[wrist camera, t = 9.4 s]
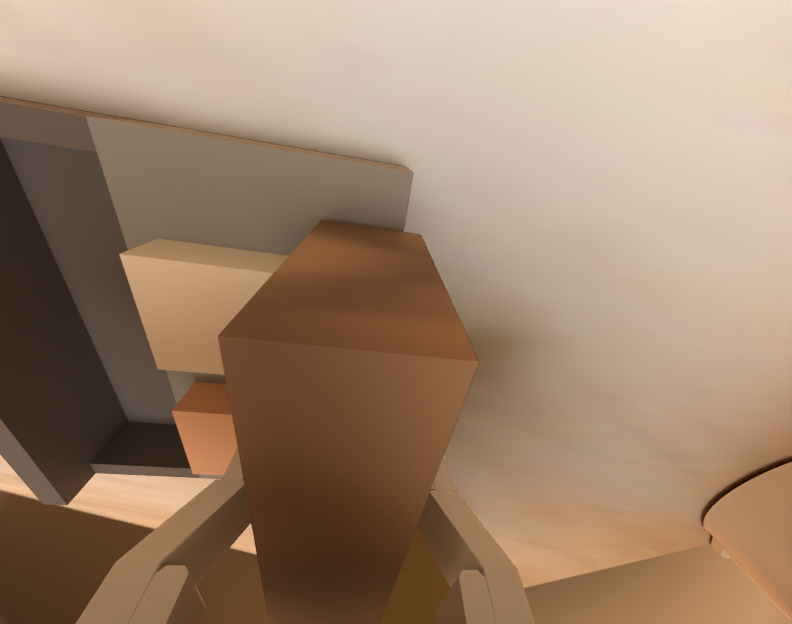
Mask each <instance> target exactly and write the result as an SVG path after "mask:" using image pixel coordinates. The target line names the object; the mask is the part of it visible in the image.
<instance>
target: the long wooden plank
mask: <svg viewBox="0 0 792 624" xmlns="http://www.w3.org/2000/svg"><path fill="white" fill-rule="evenodd" d="M218 341H219V347H220V352H221V358H222V363H223V369H224V374H225V380H226V385H227V391H228V396H229V402H230V408H231V413H232V419H233V424H234V430H235V435H236V441H237V446H238V452H239V458H240V463H241V469H242V474H243V480H244V485H245V491H246V496H247V502H248V507H249V513H250V519H251V524H252V530H253V535H254V541H255V546H256V552H257V557H258V563H259V568H260V574H261V580H262V585H263V591H264V596H265V602H266V607H267V613H268V618H269V624H380V622H381V620H382V617H383V614H384V612H385V609H386V607H387V604H388V601H389V599H390V596H391V593H392V591H393V588H394V585H395V583H396V580H397V577H398V575H399V572H400V570H401V567H402V564H403V562H404V559H405V556H406V554H407V551H408V548H409V546H410V543H411V540H412V538H413V535H414V533H415V530H416V527H417V525H418V522H419V519H420V517H421V514H422V511H423V509H424V506H425V503H426V501H427V498H428V496H429V493H430V490H431V488H432V485H433V482H434V480H435V477H436V474H437V472H438V469H439V466H440V464H441V461H442V459H443V456H444V453H445V451H446V448H447V445H448V443H449V440H450V437H451V435H452V432H453V429H454V427H455V424H456V422H457V419H458V416H459V414H460V411H461V408H462V406H463V403H464V400H465V398H466V395H467V392H468V390H469V387H470V385H471V382H472V379H473V377H474V374H475V371H476V369H477V366H478V363H479V360H478V358H477V356H476V354H475V352H474V350H473V347H472V345H471V343H470V341H469V339H468V336H467V334H466V332H465V330H464V328H463V325H462V323H461V321H460V319H459V317H458V315H457V312H456V310H455V308H454V306H453V304H452V301H451V299H450V297H449V295H448V293H447V290H446V288H445V286H444V284H443V282H442V280H441V277H440V275H439V273H438V271H437V269H436V266H435V264H434V262H433V260H432V258H431V255H430V253H429V251H428V249H427V247H426V245H425V242H424V240H423V238H422V236H421V235H419V234H413V233H406V232H399V231H392V230H385V229H379V228H372V227H365V226H358V225H352V224H345V223H338V222H331V221H324V220H320V222H319V223H318V224H317V225H316V226H315V227H314V228H313V229H312V231H311V232H310V233H309V234H308V235H307V236H306V237H305V238H304V239H303V241H302V242H301V243H300V244H299V245H298V246H297V247H296V248H295V250H294V251H293V252H292V253H291V254H290V255H289V256H288V257H287V259H286V260H285V261H284V262H283V263H282V264H281V265H280V266H279V268H278V269H277V270H276V271H275V272H274V273H273V274H272V275H271V277H270V278H269V279H268V280H267V281H266V282H265V283H264V284H263V285H262V287H261V288H260V289H259V290H258V291H257V292H256V293H255V294H254V296H253V297H252V298H251V299H250V300H249V301H248V302H247V303H246V305H245V306H244V307H243V308H242V309H241V310H240V311H239V312H238V314H237V315H236V316H235V317H234V318H233V319H232V320H231V321H230V323H229V324H228V325H227V326H226V327H225V328H224V329H223V330H222V331H221V333H220V334H219V335H218Z"/></svg>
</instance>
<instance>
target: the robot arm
mask: <svg viewBox="0 0 792 624" xmlns="http://www.w3.org/2000/svg"><path fill="white" fill-rule="evenodd" d="M250 523H251V519H250V513H249V507H248V502H247V496H246V491H245V485H244V480H243V474H242V469H241V463H240V458H239V452H238V447H237V449H236V451H235V453H234V456H233V458H232V460H231V462H230V464H229V466H228V468H227V470H226V472H225V474H224V476H223V478H222V480H215V481H214V482H213V483H211V484H210V485H209V486H208V487H207V488H205V489H204V490H203V491H202V492H201V493H199V494H198V495H197V496H196V497H194V498H193V499H192V500H191V501H190V502H188V503H187V504H186V505H185V506H183V507H182V508H181V509H180V510H179V511H177V512H176V513H175V514H174V515H173V516H171V517H170V518H169V519H168V520H166V521H165V522H164V523H163V524H162V525H160V526H159V527H158V528H157V529H155V530H154V531H153V532H152V533H151V534H149V535H148V536H147V537H146V538H145V539H143V540H142V541H141V542H140V543H138V544H137V545H136V546H135V547H134V548H132V549H131V550H130V551H129V552H127V554H125V555H124V556H123V557H122V558H120V559H119V560H118V561H116V563H115V564H114V566H113V567H112V569H111V570H110V572H109V573H108V575H107V577H106V578H105V579H104V581H103V583H102V584H101V586H100V587H99V589H98V590H97V592H96V593H95V595H94V597H93V598H92V599H91V601H90V602H89V604H88V606H87V607H86V609H85V610H84V612H83V613H82V615H81V616H80V618H79V619H78V621H77V622H76V624H202V623H203V621H204V618H205V615H206V613H207V610H206V606H205V604H204V602H203V600H202V598H201V596H200V594H199V592H198V590H197V588H196V586H197V585H198V584H199V583H200V582H201V580H202V579H203V578H204V577H205V576H206V575H207V573H208V572H209V571H210V570H211V569H212V568H213V566H214V565H215V564H216V563H217V562H218V561H219V559H220V558H221V557H222V556H223V555H224V554H225V552H226V551H227V550H228V549H229V548H230V547H231V545H232V544H233V543H234V542H235V541H236V540H237V538H238V537H239V536H240V535H241V534H242V533H243V531H244V530H245V529H246V528H247V527H248V526H249V524H250ZM703 525H704V528H705V530H706V531H707V532H708V533H710V534H711V535H712V536H713V539H712V542H711V546H712V548H713V549H714V550H715V551H716V552H717V553H718V554H719V555H720V556H721V557H722V558H725V559H733V560H734V561H735V562H736V563H737V564H738V565H739V566H740V567H741V568H742V569H743V570H744V571H745V573H746V574H748V576H749V577H750V578H751V579H752V580H753V581H754V582H755V583H756V584H757V585H758V586H759V587H760V588H761V589H762V590H763V591H764V593H765V594H766V595H767V596H768V597H769V598H770V599H771V600H772V601H773V602H774V603H775V604H776V605H777V606H778V607H779V608H780V609H781V610H782V611H783V612H784V614H785V615H786V616H787V617H788V618H789V619H790V620H791V621H792V462H790V463H787V464H784V465H782V466H779V467H777V468H774V469H772V470H770V471H767V472H765V473H763V474H761V475H759V476H757V477H755V478H753V479H751V480H749V481H747V482H745V483H744V484H742V485H740V486H739V487H737V488H735V489H734V490H732V491H731V492H729V493H728V494H727V495H725V496H724V497H723V498H721V499H720V500H719V501H718V502H717V503H715V504H714V505H713V506H712V508H711V509H710V510H709V511H708V513H707V514H706V516H705V518H704V522H703ZM417 526H418V528H419V530H420V532H421V534H422V536H423V537H424V539H425V541H426V543H427V545H428V547H429V549H430V550H431V552H432V554H433V556H434V558H435V560H436V562H437V564H438V565H439V567H440V569H441V571H442V573H443V575H444V577H445V578H446V580H447V582H448V584H449V586H450V588H451V589H450V590H449V592H448V593H447V595H446V597H445V598H444V600H443V601H442V603H441V604H440V606H439V608H438V609H437V619H438V624H535V623H534V620H533V616H532V614H531V610H530V607H529V604H528V601H527V598H526V595H525V591H524V588H523V585H522V582H521V579H520V576H519V572H518V569H517V568H516V567H515V566H514V564H513V563H512V562H511V560H510V559H509V558H508V557H507V555H506V554H505V553H504V552H503V550H502V549H501V548H500V546H499V545H498V544H497V543H496V541H495V540H494V539H493V537H492V536H491V535H490V534H489V532H488V531H487V530H486V528H485V527H484V526H483V525H482V523H481V522H480V521H479V520H478V518H477V517H476V516H475V514H474V513H473V512H472V511H471V509H470V508H469V507H468V505H467V504H466V503H465V502H464V500H463V499H462V498H461V496H460V495H459V494H458V493H457V491H452V490H451V485H450V480H449V475H448V470H447V465H446V460H445V455H444V456H443V459H442V461H441V464H440V466H439V469H438V472H437V474H436V477H435V480H434V482H433V485H432V488H431V490H430V493H429V496H428V498H427V501H426V503H425V506H424V509H423V511H422V514H421V517H420V519H419V522H418V525H417Z"/></svg>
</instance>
